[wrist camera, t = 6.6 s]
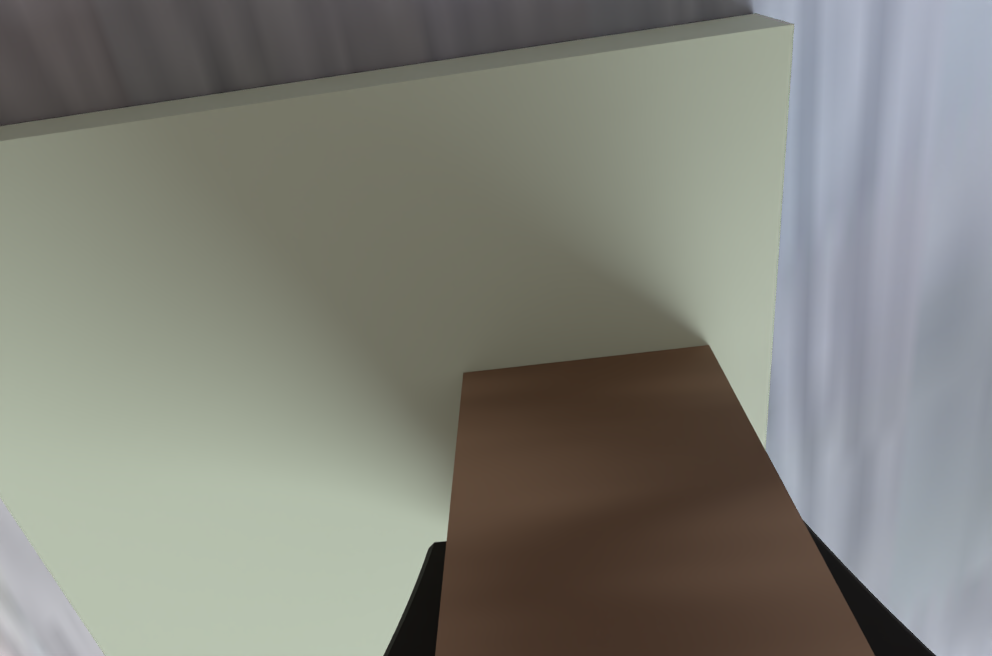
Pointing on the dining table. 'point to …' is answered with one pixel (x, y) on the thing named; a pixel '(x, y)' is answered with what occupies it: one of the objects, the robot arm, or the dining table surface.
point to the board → (355, 310)
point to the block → (627, 520)
